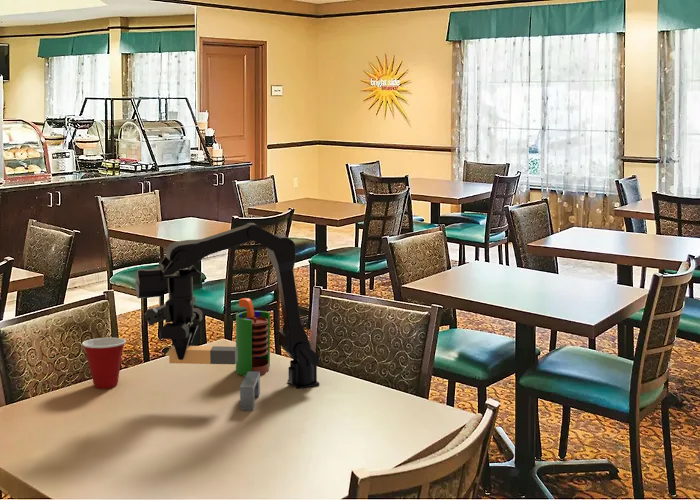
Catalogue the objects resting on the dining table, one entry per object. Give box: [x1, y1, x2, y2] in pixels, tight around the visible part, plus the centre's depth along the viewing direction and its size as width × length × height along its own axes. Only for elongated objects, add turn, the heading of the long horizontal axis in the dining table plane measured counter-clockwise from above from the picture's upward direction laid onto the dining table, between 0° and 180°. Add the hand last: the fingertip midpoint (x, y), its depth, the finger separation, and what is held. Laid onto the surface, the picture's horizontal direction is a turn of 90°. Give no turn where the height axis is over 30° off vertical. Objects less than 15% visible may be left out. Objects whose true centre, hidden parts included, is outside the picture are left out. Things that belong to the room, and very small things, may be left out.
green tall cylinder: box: [235, 297, 271, 377], centre depth 214 cm, size 10×9×20 cm
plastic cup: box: [81, 337, 127, 390], centre depth 202 cm, size 11×11×12 cm
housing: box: [239, 371, 261, 411], centre depth 192 cm, size 3×11×6 cm, turn 178°
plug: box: [165, 345, 238, 365], centre depth 191 cm, size 17×3×3 cm, turn 88°
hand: (182, 357), depth 191 cm, fingers closed on plug, 3 cm apart
